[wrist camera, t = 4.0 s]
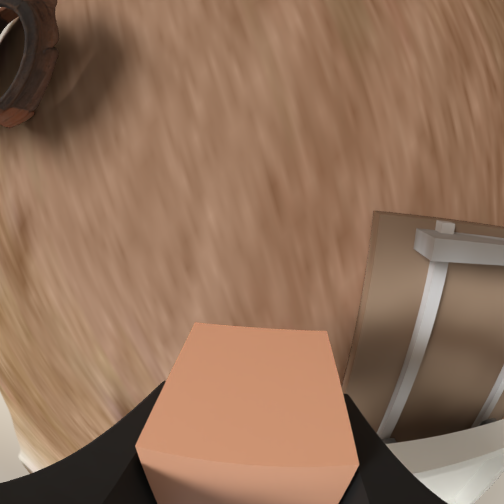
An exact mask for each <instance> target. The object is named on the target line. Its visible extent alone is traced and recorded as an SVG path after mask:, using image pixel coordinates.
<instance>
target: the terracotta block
mask: <svg viewBox="0 0 504 504" xmlns="http://www.w3.org/2000/svg"><path fill="white" fill-rule="evenodd" d="M135 447H136V450H137V453H138V456H139V459H140V461H141V464H142V467H143V469H144V472H145V475H146V477H147V480H148V482H149V485H150V487H151V490H152V492H153V494H154V497H155V499H156V501H157V504H338V503H339V502H340V500H341V498H342V496H343V495H344V493H345V491H346V489H347V487H348V485H349V484H350V482H351V480H352V478H353V476H354V474H355V472H356V470H357V468H358V466H359V461H358V456H357V451H356V447H355V442H354V438H353V433H352V429H351V425H350V420H349V416H348V412H347V408H346V404H345V400H344V396H343V392H342V388H341V384H340V380H339V376H338V372H337V368H336V364H335V360H334V356H333V353H332V349H331V345H330V342H329V338H328V334H327V331H308V330H286V329H268V328H253V327H240V326H228V325H216V324H206V323H196V322H195V323H194V325H193V327H192V329H191V331H190V333H189V335H188V337H187V339H186V342H185V344H184V346H183V348H182V350H181V352H180V354H179V356H178V358H177V360H176V362H175V364H174V366H173V368H172V370H171V372H170V374H169V376H168V378H167V380H166V382H165V384H164V386H163V389H162V391H161V393H160V395H159V397H158V399H157V401H156V403H155V405H154V407H153V409H152V411H151V413H150V416H149V418H148V420H147V422H146V424H145V426H144V428H143V430H142V432H141V434H140V437H139V439H138V441H137V443H136V445H135Z"/></svg>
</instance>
